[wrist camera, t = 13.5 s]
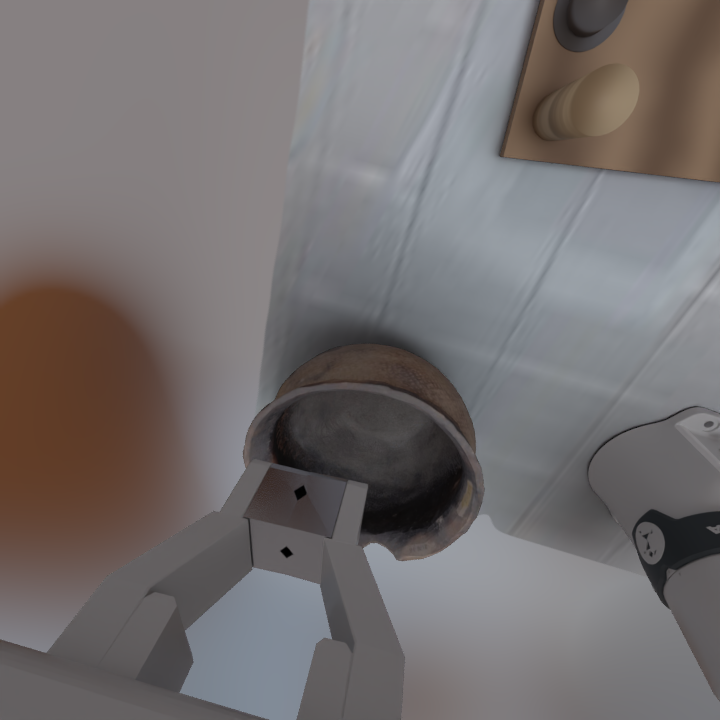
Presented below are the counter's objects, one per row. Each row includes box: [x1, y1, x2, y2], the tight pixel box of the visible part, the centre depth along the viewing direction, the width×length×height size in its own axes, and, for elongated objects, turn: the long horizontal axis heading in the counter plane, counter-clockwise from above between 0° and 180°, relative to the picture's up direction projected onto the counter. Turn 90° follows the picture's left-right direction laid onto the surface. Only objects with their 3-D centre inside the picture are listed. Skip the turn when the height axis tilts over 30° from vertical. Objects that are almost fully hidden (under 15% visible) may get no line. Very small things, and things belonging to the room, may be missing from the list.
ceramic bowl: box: [243, 344, 484, 561], centre depth 39 cm, size 22×22×15 cm
